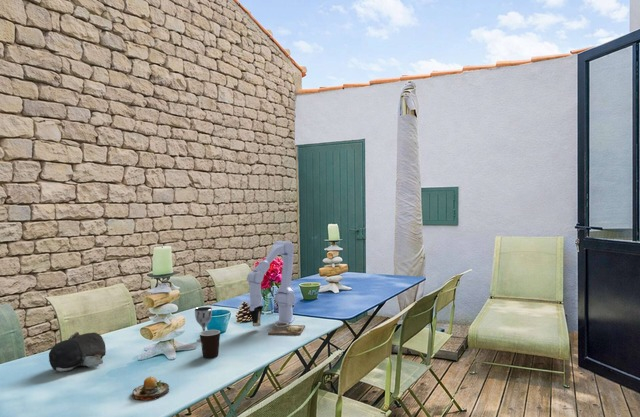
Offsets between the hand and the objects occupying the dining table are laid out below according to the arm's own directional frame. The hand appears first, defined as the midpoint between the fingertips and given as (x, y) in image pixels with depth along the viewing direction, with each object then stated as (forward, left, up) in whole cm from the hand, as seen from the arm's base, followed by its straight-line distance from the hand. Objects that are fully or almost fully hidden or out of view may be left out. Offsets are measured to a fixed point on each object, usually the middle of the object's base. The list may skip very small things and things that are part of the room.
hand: (256, 321), depth 224 cm
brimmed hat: (+76, -15, -5) cm, 78 cm away
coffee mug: (+37, -9, -5) cm, 38 cm away
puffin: (+54, -59, -5) cm, 80 cm away
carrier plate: (0, +16, -5) cm, 17 cm away
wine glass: (+17, -21, -5) cm, 28 cm away
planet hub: (0, 0, -2) cm, 2 cm away
